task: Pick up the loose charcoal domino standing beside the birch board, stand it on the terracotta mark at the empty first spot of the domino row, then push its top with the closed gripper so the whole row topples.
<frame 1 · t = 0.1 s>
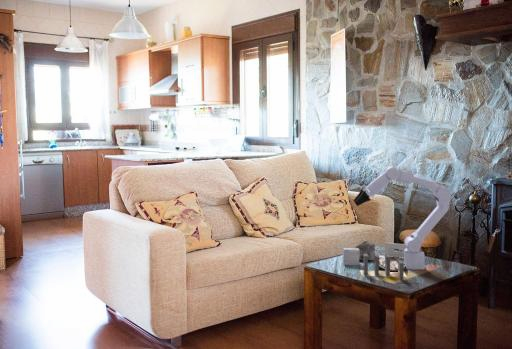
hand: (355, 203, 257), 32 cm above the table, tool tilted 50°, fingers open, 7 cm apart
domino c: (376, 274, 245), point 1 cm above the table, touching board
mineral rock: (362, 260, 275), on the table
domino b: (387, 274, 245), point 1 cm above the table, touching board
medicine box: (350, 266, 263), on the table
cassette: (396, 258, 279), on the table
board: (382, 275, 246), on the table
end domino: (365, 273, 246), point 1 cm above the table, touching board
loose domino: (400, 281, 238), on the table
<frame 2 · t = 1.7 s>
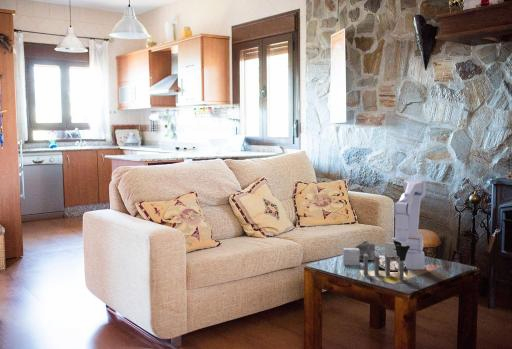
hand: (400, 258, 237), 10 cm above the table, tool pointing down, fingers open, 7 cm apart
nothing on the table moved.
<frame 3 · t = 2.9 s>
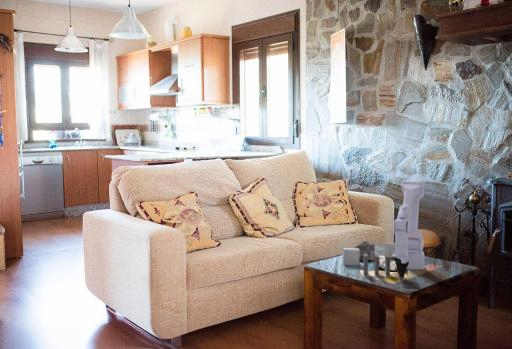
hand: (400, 274, 238), 3 cm above the table, tool pointing down, fingers closed on loose domino, 5 cm apart
loose domino: (400, 281, 238), on the table, touching gripper
everything else where it was.
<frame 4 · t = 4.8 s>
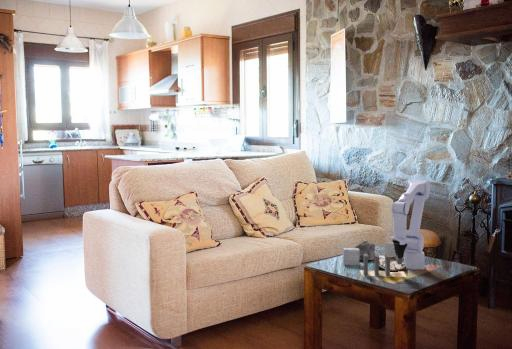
hand: (399, 256, 243), 10 cm above the table, tool pointing down, fingers closed on loose domino, 5 cm apart
loose domino: (399, 262, 243), point 7 cm above the table, touching gripper
everything else where it was.
when the fingers open (5 cm above the table, at t = 6.6 s): loose domino drops 1 cm, resting on board.
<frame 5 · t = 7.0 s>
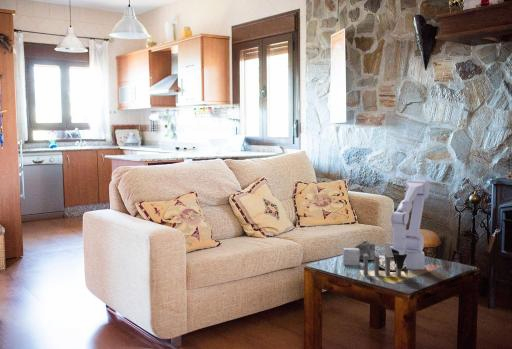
hand: (398, 266, 244), 5 cm above the table, tool pointing down, fingers open, 7 cm apart
loose domino: (398, 274, 244), point 1 cm above the table, touching board
everything else where it was.
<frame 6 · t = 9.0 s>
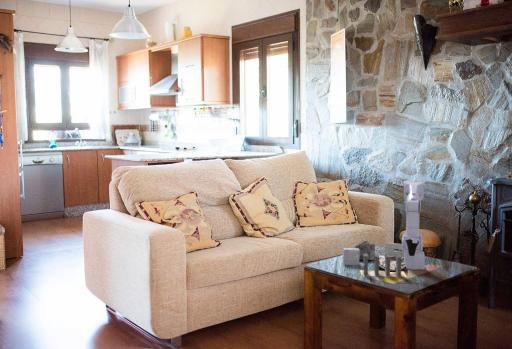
hand: (411, 255, 242), 10 cm above the table, tool pointing down, fingers closed
nothing on the table moved.
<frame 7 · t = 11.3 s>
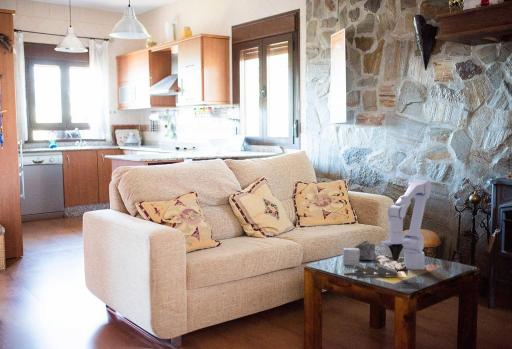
hand: (395, 260, 244), 8 cm above the table, tool pointing down, fingers closed
domino c: (372, 272, 245), point 2 cm above the table, tilted 70°, touching domino b, end domino
domino b: (385, 272, 245), point 2 cm above the table, tilted 71°, touching board, domino c, loose domino
end domino: (363, 271, 246), point 2 cm above the table, tilted 97°, touching board, domino c
loose domino: (396, 273, 244), point 2 cm above the table, tilted 71°, touching board, domino b
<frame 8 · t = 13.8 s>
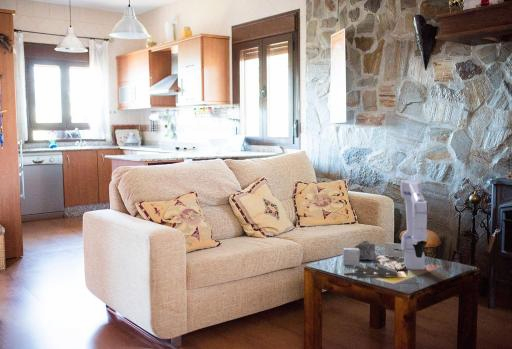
hand: (419, 257, 239), 10 cm above the table, tool pointing down, fingers closed
at the end: end domino tilted 97°; loose domino tilted 71°; loose domino inside the target area (1.1 cm from its centre), point 1.8 cm above the table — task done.
